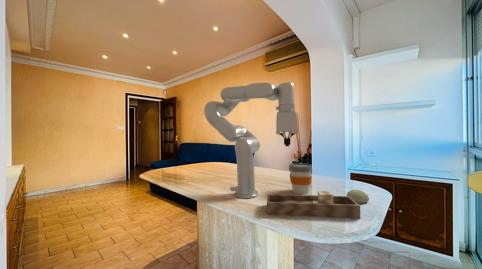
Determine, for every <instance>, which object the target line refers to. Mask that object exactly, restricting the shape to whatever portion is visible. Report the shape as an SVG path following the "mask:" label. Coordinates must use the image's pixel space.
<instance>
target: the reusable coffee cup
mask: <svg viewBox="0 0 482 269" xmlns="http://www.w3.org/2000/svg"><path fill="white" fill-rule="evenodd" d="M288 166H289V167H288V170H289V179H290V183H291V187H292V192H293V193H295V194H296V195H308V194H310V187H311V184H312V180H313V178H312V177H313V176H312V172H313V165H312V164H309V163H305V162H304V163H301V162H299V163H296V162H295V163H290V164H289V165H288Z"/></svg>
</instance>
